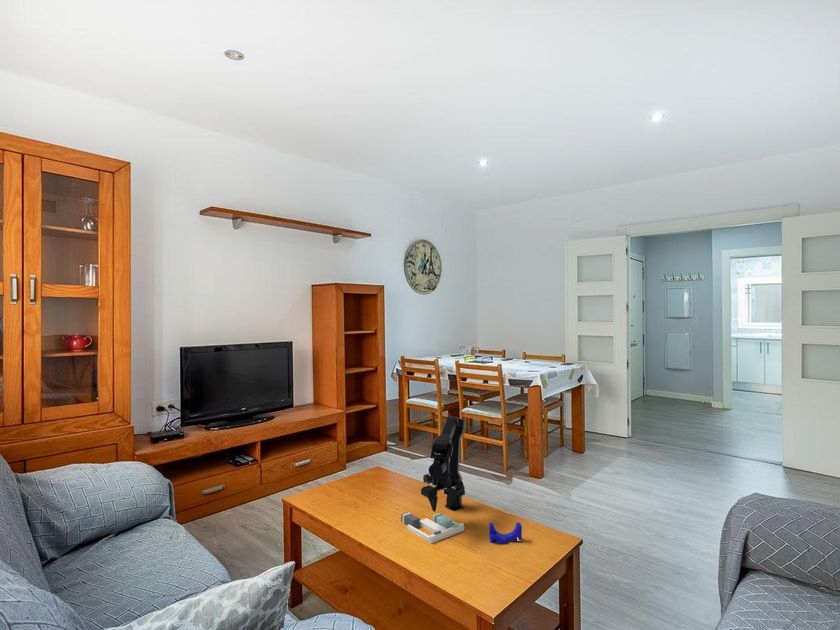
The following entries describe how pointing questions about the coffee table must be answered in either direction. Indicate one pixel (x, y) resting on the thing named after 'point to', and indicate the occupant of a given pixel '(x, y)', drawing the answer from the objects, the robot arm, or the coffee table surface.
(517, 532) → the blue cradle block
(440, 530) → the slot rack
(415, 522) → the dark grey block
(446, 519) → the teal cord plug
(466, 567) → the coffee table surface
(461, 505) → the robot arm
